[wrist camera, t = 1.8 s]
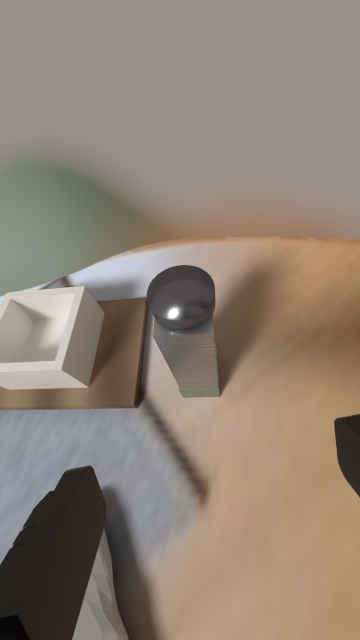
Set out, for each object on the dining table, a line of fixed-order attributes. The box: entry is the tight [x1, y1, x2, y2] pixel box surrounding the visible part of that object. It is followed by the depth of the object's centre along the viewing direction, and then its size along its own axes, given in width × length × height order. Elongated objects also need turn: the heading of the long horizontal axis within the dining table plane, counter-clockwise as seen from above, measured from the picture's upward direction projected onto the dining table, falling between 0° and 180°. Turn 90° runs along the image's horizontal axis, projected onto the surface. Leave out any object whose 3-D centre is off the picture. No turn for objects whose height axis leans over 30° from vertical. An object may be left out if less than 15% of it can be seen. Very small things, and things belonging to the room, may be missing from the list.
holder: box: [0, 286, 105, 390], centre depth 25 cm, size 9×9×5 cm
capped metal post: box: [147, 265, 220, 397], centre depth 19 cm, size 4×4×13 cm
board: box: [0, 298, 148, 410], centre depth 27 cm, size 16×12×1 cm
